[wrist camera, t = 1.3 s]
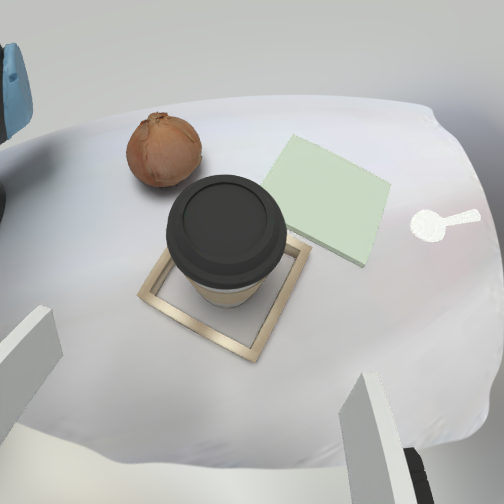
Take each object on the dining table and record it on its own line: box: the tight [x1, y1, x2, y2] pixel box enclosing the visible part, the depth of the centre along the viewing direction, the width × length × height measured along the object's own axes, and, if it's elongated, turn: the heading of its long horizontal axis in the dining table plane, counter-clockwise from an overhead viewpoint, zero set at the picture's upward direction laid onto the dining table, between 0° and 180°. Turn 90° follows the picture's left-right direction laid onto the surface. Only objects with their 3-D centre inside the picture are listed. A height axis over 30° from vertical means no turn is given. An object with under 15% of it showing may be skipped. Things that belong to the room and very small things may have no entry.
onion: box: [126, 112, 202, 188], centre depth 35 cm, size 10×9×10 cm
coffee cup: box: [166, 175, 287, 308], centre depth 27 cm, size 9×9×15 cm
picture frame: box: [137, 235, 312, 363], centre depth 33 cm, size 14×14×2 cm
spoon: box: [410, 209, 481, 243], centre depth 40 cm, size 5×18×1 cm, turn 104°
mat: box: [260, 134, 391, 268], centre depth 39 cm, size 16×14×1 cm
